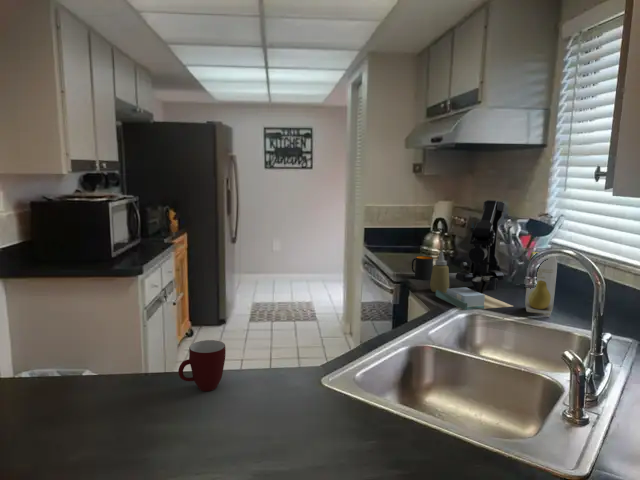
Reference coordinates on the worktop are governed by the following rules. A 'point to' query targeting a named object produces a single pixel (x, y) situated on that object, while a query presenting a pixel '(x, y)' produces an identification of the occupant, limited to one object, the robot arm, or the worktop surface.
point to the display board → (488, 303)
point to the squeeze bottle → (440, 275)
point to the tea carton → (467, 296)
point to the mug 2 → (423, 267)
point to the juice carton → (542, 289)
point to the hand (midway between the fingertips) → (478, 297)
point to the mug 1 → (205, 364)
